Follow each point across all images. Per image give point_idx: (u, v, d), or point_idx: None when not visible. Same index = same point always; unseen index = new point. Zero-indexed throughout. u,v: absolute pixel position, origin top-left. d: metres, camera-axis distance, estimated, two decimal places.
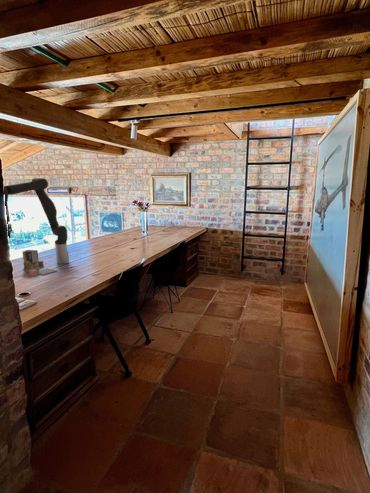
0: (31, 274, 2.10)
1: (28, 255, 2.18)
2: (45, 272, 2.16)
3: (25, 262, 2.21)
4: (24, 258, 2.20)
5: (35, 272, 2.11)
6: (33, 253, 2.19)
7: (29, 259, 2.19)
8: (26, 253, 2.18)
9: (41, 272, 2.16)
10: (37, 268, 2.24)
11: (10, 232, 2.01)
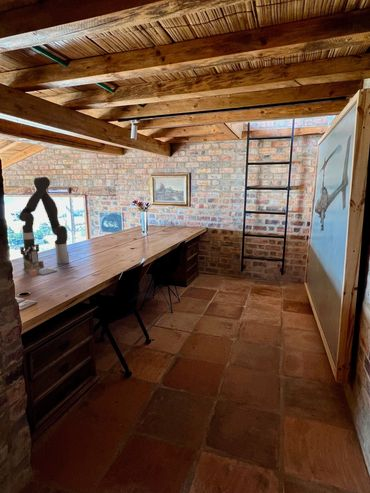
0: (31, 274, 2.10)
1: (28, 255, 2.18)
2: (45, 272, 2.16)
3: (25, 262, 2.20)
4: None
5: (35, 272, 2.11)
6: (33, 253, 2.19)
7: (29, 259, 2.19)
8: None
9: (41, 272, 2.16)
10: (37, 268, 2.24)
11: None
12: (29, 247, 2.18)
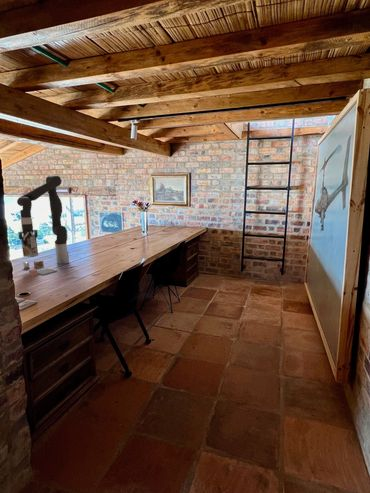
0: (31, 274, 2.10)
1: (27, 241, 2.16)
2: (45, 272, 2.16)
3: (24, 247, 2.18)
4: (22, 243, 2.18)
5: (35, 272, 2.11)
6: (31, 238, 2.17)
7: (28, 244, 2.17)
8: None
9: (41, 272, 2.16)
10: (36, 254, 2.21)
11: None
12: (27, 232, 2.16)
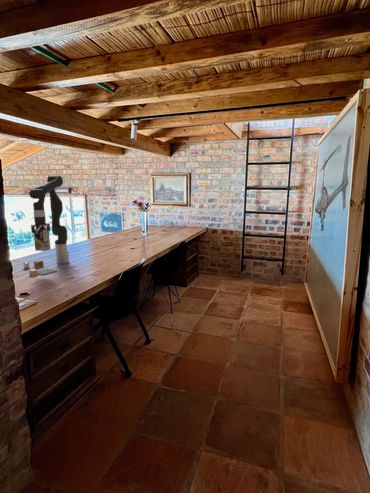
0: (31, 274, 2.10)
1: (39, 234, 2.10)
2: (45, 272, 2.16)
3: (36, 241, 2.12)
4: None
5: (35, 272, 2.11)
6: (44, 232, 2.10)
7: (40, 238, 2.10)
8: None
9: (41, 272, 2.16)
10: (48, 248, 2.15)
11: None
12: (40, 225, 2.10)
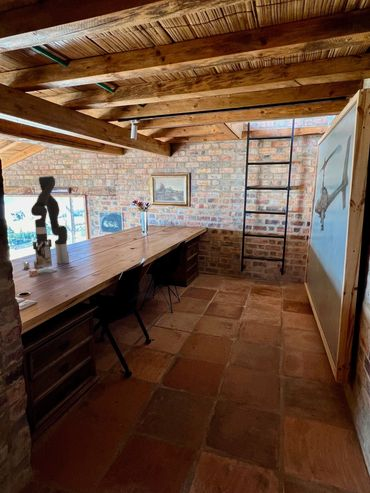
0: (31, 274, 2.10)
1: (41, 251, 2.12)
2: (45, 272, 2.16)
3: (37, 257, 2.14)
4: (36, 253, 2.14)
5: (35, 272, 2.11)
6: (46, 248, 2.13)
7: (42, 254, 2.13)
8: None
9: (41, 272, 2.16)
10: (50, 264, 2.17)
11: None
12: (42, 242, 2.12)
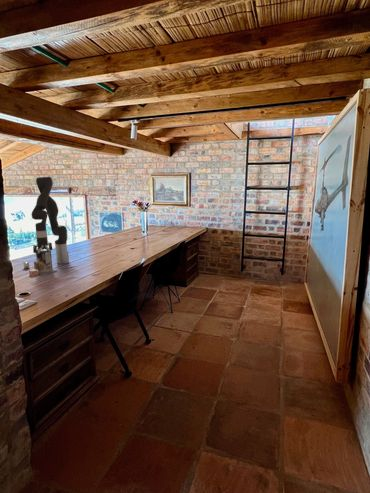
0: (31, 274, 2.10)
1: (42, 256, 2.13)
2: (45, 272, 2.16)
3: (38, 263, 2.16)
4: (37, 259, 2.15)
5: (35, 272, 2.11)
6: (46, 254, 2.14)
7: (42, 260, 2.14)
8: None
9: (41, 272, 2.16)
10: (50, 269, 2.18)
11: (48, 250, 2.21)
12: (42, 246, 2.13)
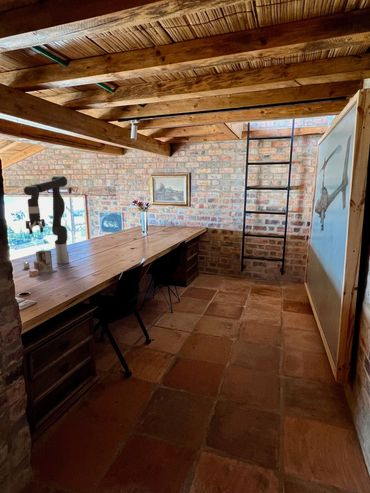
0: (31, 274, 2.10)
1: (42, 256, 2.13)
2: (45, 272, 2.16)
3: (38, 263, 2.16)
4: (37, 259, 2.15)
5: (35, 272, 2.11)
6: (46, 254, 2.14)
7: (42, 260, 2.14)
8: (39, 254, 2.13)
9: (41, 272, 2.16)
10: (50, 269, 2.18)
11: None
12: (35, 222, 2.13)
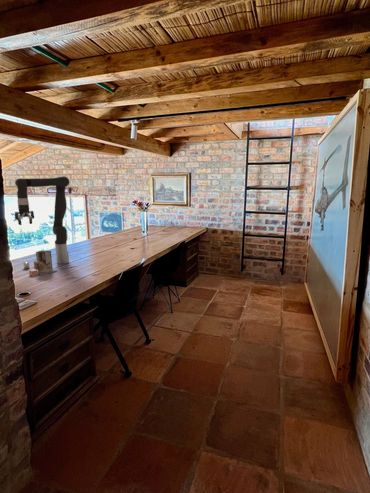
0: (31, 274, 2.10)
1: (42, 256, 2.13)
2: (45, 272, 2.16)
3: (38, 263, 2.16)
4: (37, 259, 2.15)
5: (35, 272, 2.11)
6: (46, 254, 2.14)
7: (42, 260, 2.14)
8: (39, 254, 2.13)
9: (41, 272, 2.16)
10: (50, 269, 2.18)
11: None
12: (24, 213, 2.21)
